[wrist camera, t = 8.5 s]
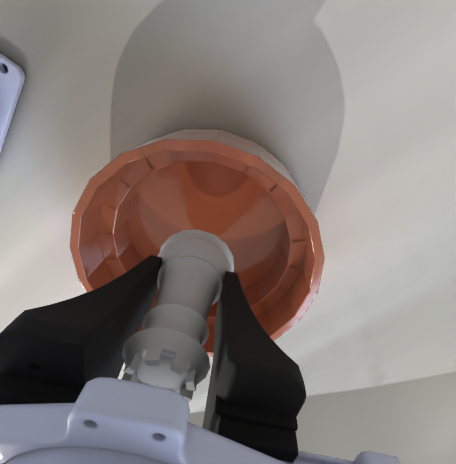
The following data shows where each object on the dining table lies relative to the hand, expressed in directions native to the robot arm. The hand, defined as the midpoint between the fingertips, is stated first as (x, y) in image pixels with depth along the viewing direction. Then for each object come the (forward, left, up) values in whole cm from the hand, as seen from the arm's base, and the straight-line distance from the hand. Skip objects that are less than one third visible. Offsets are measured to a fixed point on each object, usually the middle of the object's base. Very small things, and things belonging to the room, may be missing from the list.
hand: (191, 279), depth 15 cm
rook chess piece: (0, 0, -2) cm, 2 cm away
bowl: (0, 0, -6) cm, 6 cm away
